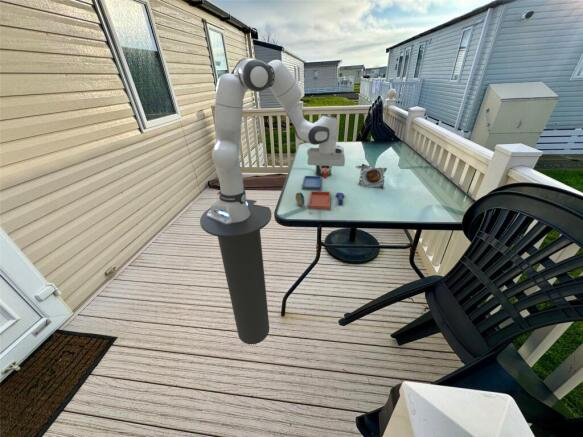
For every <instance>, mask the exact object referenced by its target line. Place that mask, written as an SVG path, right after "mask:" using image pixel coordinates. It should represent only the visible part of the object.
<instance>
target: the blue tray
mask: <svg viewBox="0 0 583 437" xmlns="http://www.w3.org/2000/svg"><path fill="white" fill-rule="evenodd" d="M321 184H322V176H318V175H304V176H303V181H302V185H301V186H302V187H301V189H302V190H308V191H321V186H322V185H321Z"/></svg>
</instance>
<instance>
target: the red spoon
mask: <svg viewBox="0 0 583 437" xmlns="http://www.w3.org/2000/svg"><path fill="white" fill-rule="evenodd" d="M322 169H324V172H323V176H322V179H323V180H326V179H327V177H328V176H327V169H328V168H322Z"/></svg>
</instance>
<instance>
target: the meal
mask: <svg viewBox="0 0 583 437" xmlns="http://www.w3.org/2000/svg"><path fill="white" fill-rule="evenodd" d="M387 170H388V168H387V167H381V166H380V167H373V166H371V165H368V164H364V163H361V166H360V173H359V181H358V185H360V186H363V187H366V188H380V189H384V184H385V181H386V180H385V178H386V176H385V173H386V171H387Z"/></svg>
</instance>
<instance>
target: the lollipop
mask: <svg viewBox="0 0 583 437" xmlns="http://www.w3.org/2000/svg"><path fill="white" fill-rule="evenodd" d="M305 201H306V200H305V197H304V194H303V193H302V192H300V191H299V192H296V193H295V202H296V204H297V206H305V207H306V209H307V210H308V212H309V213H310V214H311V213H312V212H311V211H310V210H309V207H307V206H306V204H305Z"/></svg>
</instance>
